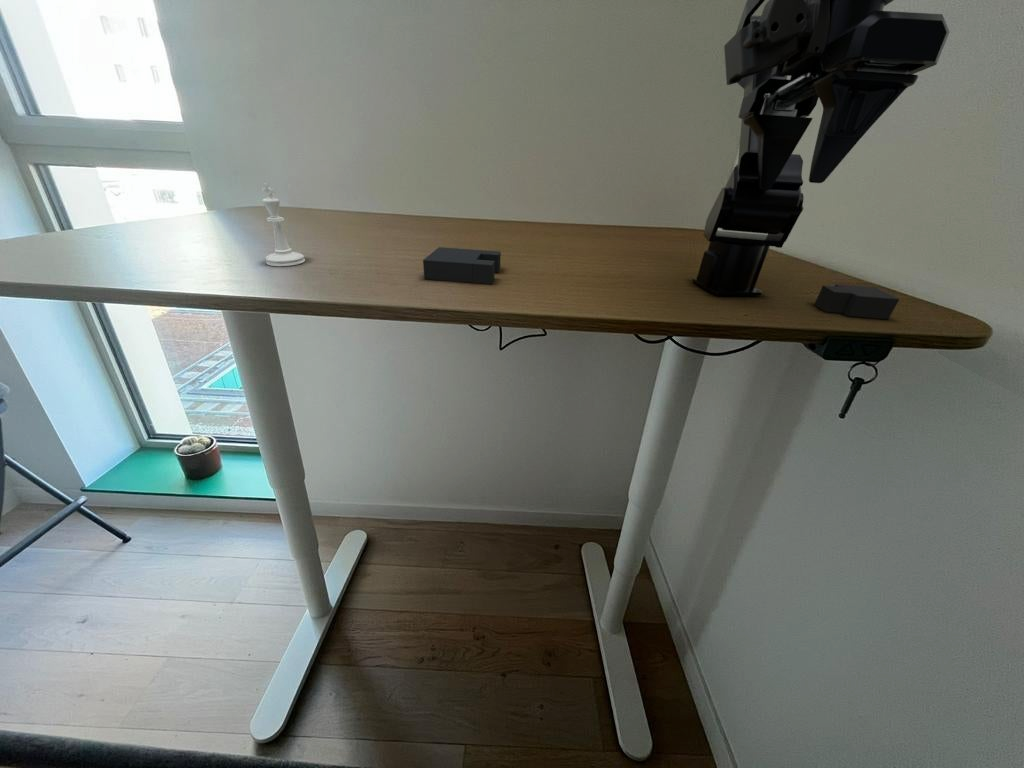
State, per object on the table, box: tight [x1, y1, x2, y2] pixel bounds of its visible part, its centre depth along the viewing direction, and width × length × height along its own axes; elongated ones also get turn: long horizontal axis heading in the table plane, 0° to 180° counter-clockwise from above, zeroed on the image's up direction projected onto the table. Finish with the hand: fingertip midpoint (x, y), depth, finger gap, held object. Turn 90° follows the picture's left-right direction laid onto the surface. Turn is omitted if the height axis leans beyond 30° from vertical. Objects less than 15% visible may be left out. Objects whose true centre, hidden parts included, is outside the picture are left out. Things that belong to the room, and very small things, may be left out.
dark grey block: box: [814, 283, 900, 320], centre depth 48 cm, size 6×4×2 cm
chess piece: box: [260, 182, 306, 267], centre depth 54 cm, size 5×5×10 cm
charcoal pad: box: [422, 246, 502, 285], centre depth 54 cm, size 9×8×2 cm
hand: (786, 186), depth 39 cm, fingers open, 9 cm apart
